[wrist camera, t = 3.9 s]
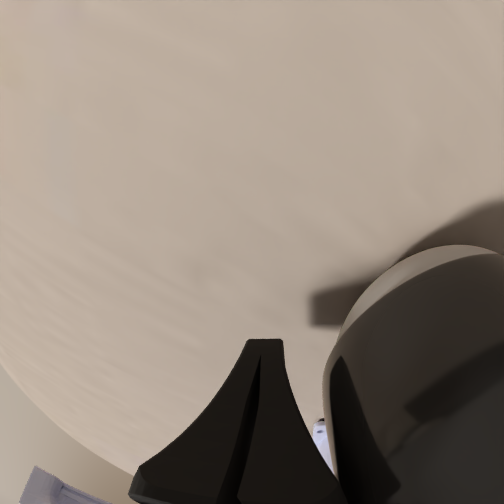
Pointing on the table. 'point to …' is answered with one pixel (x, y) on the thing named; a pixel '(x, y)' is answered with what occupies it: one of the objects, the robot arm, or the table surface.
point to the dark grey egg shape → (421, 383)
